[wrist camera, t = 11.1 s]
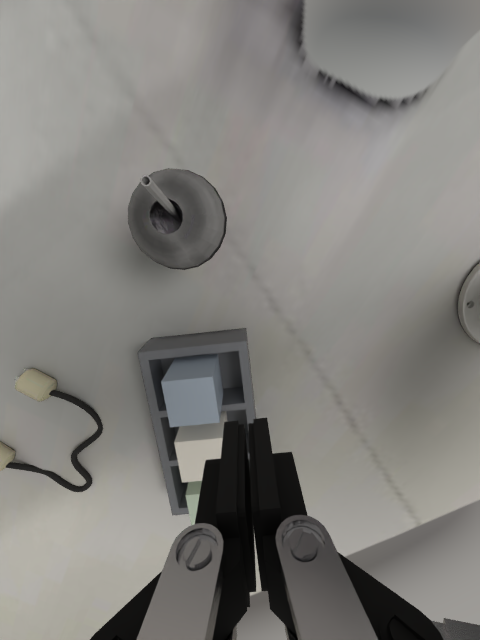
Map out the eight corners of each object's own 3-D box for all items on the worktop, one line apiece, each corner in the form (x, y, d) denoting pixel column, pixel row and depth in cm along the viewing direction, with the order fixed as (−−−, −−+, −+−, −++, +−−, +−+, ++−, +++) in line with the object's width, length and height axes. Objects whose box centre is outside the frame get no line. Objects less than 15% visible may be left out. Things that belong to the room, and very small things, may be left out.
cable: (136, 416, 40) (126, 432, 37) (83, 495, 43) (70, 516, 40) (30, 357, 38) (10, 368, 34) (-16, 446, 41) (-38, 464, 38)
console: (246, 328, 36) (246, 341, 31) (262, 476, 42) (265, 507, 37) (151, 338, 36) (137, 352, 32) (180, 484, 42) (172, 515, 37)
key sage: (232, 453, 37) (230, 491, 32) (236, 484, 39) (235, 527, 33) (194, 456, 38) (185, 495, 32) (199, 488, 39) (192, 530, 33)
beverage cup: (162, 253, 34) (57, 263, 14) (174, 187, 32) (72, 99, 13) (223, 268, 34) (200, 298, 15) (238, 204, 32) (234, 144, 13)
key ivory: (225, 406, 35) (222, 438, 30) (230, 441, 37) (228, 478, 31) (185, 410, 35) (174, 442, 30) (191, 444, 37) (181, 482, 31)
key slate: (217, 353, 33) (212, 376, 27) (223, 392, 35) (219, 422, 29) (175, 358, 33) (161, 381, 28) (182, 396, 35) (170, 427, 29)
